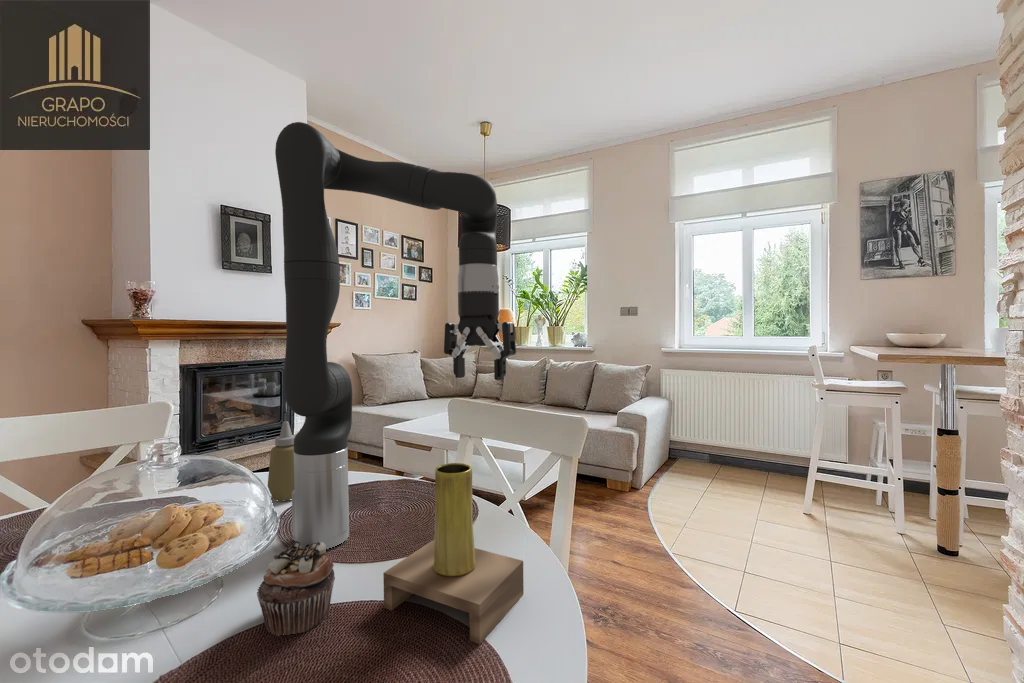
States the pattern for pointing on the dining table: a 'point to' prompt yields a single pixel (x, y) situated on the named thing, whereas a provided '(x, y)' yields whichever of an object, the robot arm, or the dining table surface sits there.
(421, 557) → the walnut shelf
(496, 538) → the dining table surface
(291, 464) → the squeeze bottle
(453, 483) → the vase
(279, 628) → the cupcake
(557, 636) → the dining table surface
